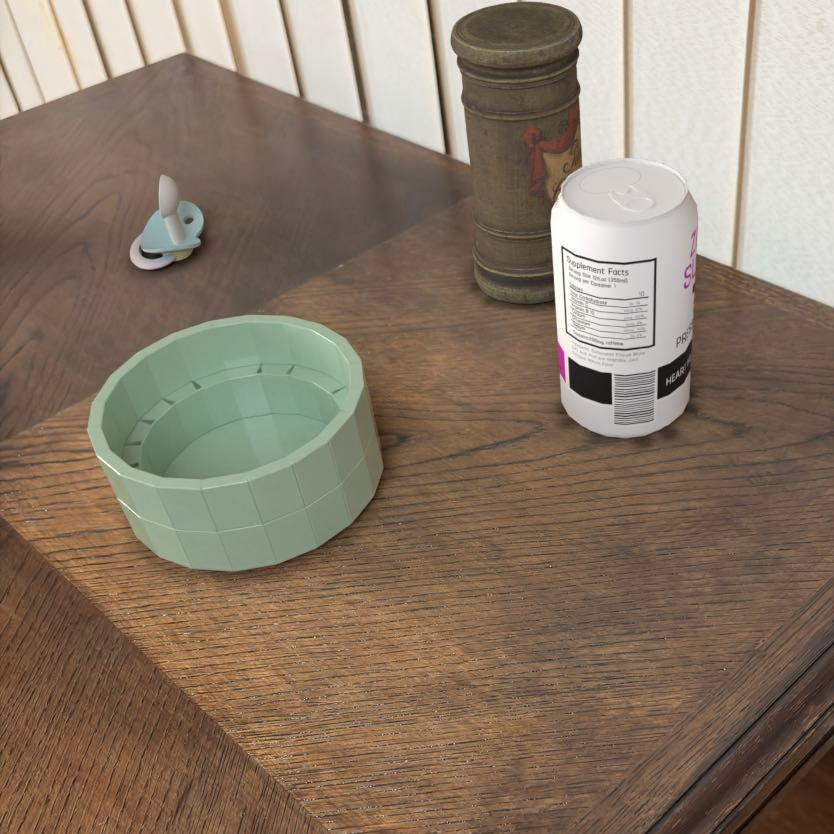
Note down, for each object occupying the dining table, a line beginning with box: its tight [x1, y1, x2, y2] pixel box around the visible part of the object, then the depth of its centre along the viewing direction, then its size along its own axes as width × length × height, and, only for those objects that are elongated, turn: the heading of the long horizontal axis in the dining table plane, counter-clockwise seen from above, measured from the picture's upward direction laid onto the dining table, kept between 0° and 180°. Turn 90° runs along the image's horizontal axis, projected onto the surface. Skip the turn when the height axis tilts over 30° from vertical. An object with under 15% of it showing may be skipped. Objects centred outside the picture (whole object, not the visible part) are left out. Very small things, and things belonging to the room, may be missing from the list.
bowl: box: [86, 314, 384, 573], centre depth 63 cm, size 16×16×7 cm
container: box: [450, 1, 584, 305], centre depth 74 cm, size 9×9×18 cm
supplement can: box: [551, 157, 699, 439], centre depth 64 cm, size 8×8×15 cm
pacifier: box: [129, 174, 205, 271], centre depth 84 cm, size 7×6×6 cm
